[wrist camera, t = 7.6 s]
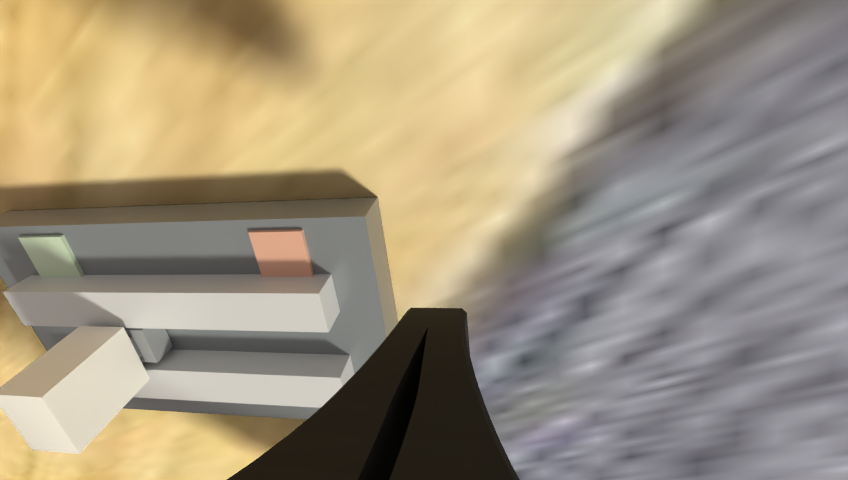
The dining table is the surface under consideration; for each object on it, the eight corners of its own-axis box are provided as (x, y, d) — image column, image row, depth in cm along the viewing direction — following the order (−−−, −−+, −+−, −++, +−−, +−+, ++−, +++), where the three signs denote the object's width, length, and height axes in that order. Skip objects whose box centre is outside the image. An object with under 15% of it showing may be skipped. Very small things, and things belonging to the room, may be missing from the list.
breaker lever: (154, 305, 22) (48, 397, 17) (177, 355, 24) (85, 454, 19) (102, 304, 23) (-15, 393, 18) (128, 353, 24) (26, 449, 19)
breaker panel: (377, 197, 20) (353, 233, 17) (410, 396, 25) (396, 450, 22) (9, 210, 24) (-65, 242, 21) (106, 381, 29) (60, 426, 26)
